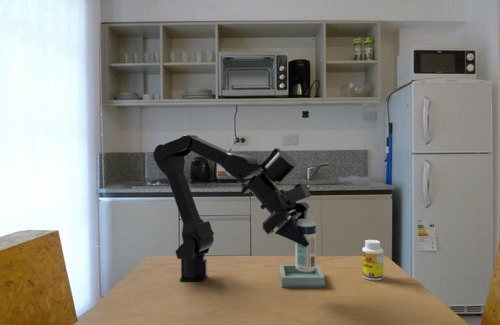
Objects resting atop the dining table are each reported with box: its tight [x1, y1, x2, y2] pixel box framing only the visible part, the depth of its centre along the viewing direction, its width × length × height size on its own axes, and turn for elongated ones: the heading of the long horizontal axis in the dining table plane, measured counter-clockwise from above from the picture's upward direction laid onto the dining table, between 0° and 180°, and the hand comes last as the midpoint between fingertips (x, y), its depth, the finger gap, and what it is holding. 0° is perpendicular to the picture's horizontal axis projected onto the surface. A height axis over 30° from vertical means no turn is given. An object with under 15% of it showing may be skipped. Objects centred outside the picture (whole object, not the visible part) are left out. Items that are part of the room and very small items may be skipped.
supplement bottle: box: [361, 239, 384, 281], centre depth 102 cm, size 6×6×10 cm
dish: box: [279, 264, 326, 289], centre depth 101 cm, size 11×11×3 cm
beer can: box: [295, 218, 317, 272], centre depth 88 cm, size 5×5×12 cm
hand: (311, 243), depth 88 cm, fingers closed on beer can, 5 cm apart
